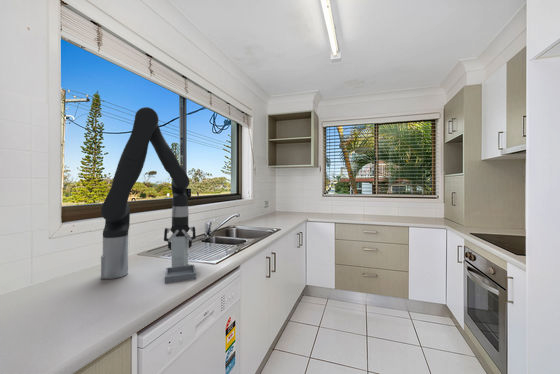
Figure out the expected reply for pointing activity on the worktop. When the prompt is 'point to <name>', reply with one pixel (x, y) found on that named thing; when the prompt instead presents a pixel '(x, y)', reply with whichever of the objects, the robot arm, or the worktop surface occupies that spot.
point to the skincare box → (179, 251)
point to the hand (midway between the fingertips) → (180, 248)
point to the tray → (180, 273)
